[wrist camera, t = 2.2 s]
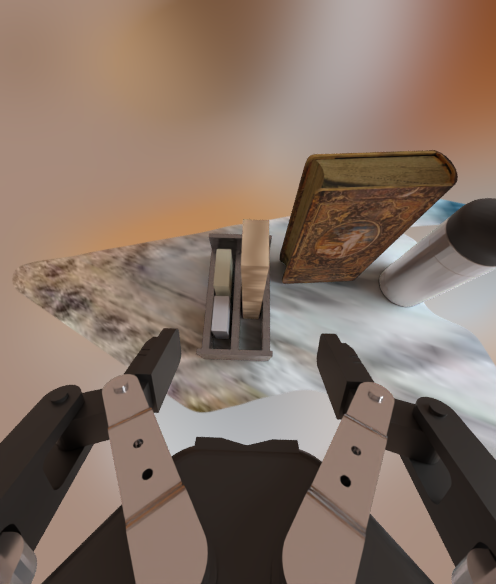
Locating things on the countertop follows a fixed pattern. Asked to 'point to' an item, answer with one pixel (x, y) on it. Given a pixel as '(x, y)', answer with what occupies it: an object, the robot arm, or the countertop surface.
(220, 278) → the sage offcut
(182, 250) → the countertop surface
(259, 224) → the birch board
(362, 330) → the countertop surface
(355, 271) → the book
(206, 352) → the rack
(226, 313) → the pale grey block
